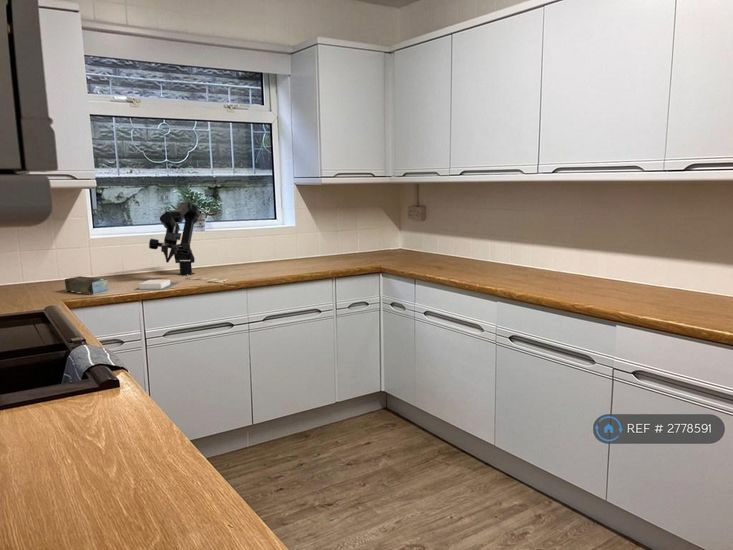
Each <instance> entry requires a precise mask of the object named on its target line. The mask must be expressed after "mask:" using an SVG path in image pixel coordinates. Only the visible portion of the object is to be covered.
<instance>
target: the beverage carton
mask: <svg viewBox="0 0 733 550" xmlns="http://www.w3.org/2000/svg"><path fill="white" fill-rule="evenodd" d="M64 285H65V291H66V290H67V291H74V292H81V293H90V294H96V293H101V292H102V293H107V292H109V289H108V288H109V286H108V280H107V279H104V278H98V277H97V278H96V277H88V276H81V275H80V276H79V275H78V276H75V277H73V276H72V277H68V278H65V279H64ZM102 293H101V294H102ZM96 295H97V294H96Z"/></svg>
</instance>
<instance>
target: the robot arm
mask: <svg viewBox="0 0 733 550" xmlns="http://www.w3.org/2000/svg"><path fill="white" fill-rule="evenodd" d="M200 215H201V212H200V209H199V208H198V206H196V205H194V204H192V202H191V201H190V202H189V201H184V202H183V201H182V202H181V203H180V205H179V206H177V207H176V208H175V209H172V210H168V211H167V210H166V211H165V212H164V213H163V214H161V215H160V217H159V221H160V222H161V224H162V226H163V227H164V228H166V232H165V235H164V239H163V240H164V241H163V242H160V241H159V239H156V238H149V242H148V243H149V244H148V248H149V249H151V250H157V249H158V248H159V247H160V248H161V249H160V251H161V253H163V255H164V258H165V262H166V263H167V264H168V263H169V262H170V260H171V259H172V257H173V256H174V262H175V264H179V266H178V268H179V272H178V273H177V275H179V274H181V275H180V276H188V275H187V274H190V275H195V272H193V271H192V263H193V264H194V263H195V260H196V259H195V256H194V254H193V251H192V249H191V243H192V242H191V241H192V236H193V232H194V226H195V224H196V223H197V222H198V221H199V217H200ZM183 220H184V224H183V230H182V233H180V231H181V228H180V225H179V224H180V223H182V222H183ZM178 241H180V243H178ZM177 243H178V244H177Z"/></svg>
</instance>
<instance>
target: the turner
mask: <svg viewBox="0 0 733 550" xmlns="http://www.w3.org/2000/svg"><path fill="white" fill-rule="evenodd" d="M186 279H187V280H188V281H205V282H206V283H211V282H219V283H218V284H221V283H224V282H223V281H225V282H227V281H226V280H228V281H229V279H227V278H225V279H224V278H206V277H205V278H203V277H185V280H186ZM220 282H221V283H220Z"/></svg>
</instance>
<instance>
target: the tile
mask: <svg viewBox="0 0 733 550" xmlns="http://www.w3.org/2000/svg"><path fill="white" fill-rule="evenodd" d="M170 282H171V279H148V280H145V281H142V282H140V283H138V288H139V290H138V291H142V290H141V289H163V288H165V287H167V286H169V285H170Z"/></svg>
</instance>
